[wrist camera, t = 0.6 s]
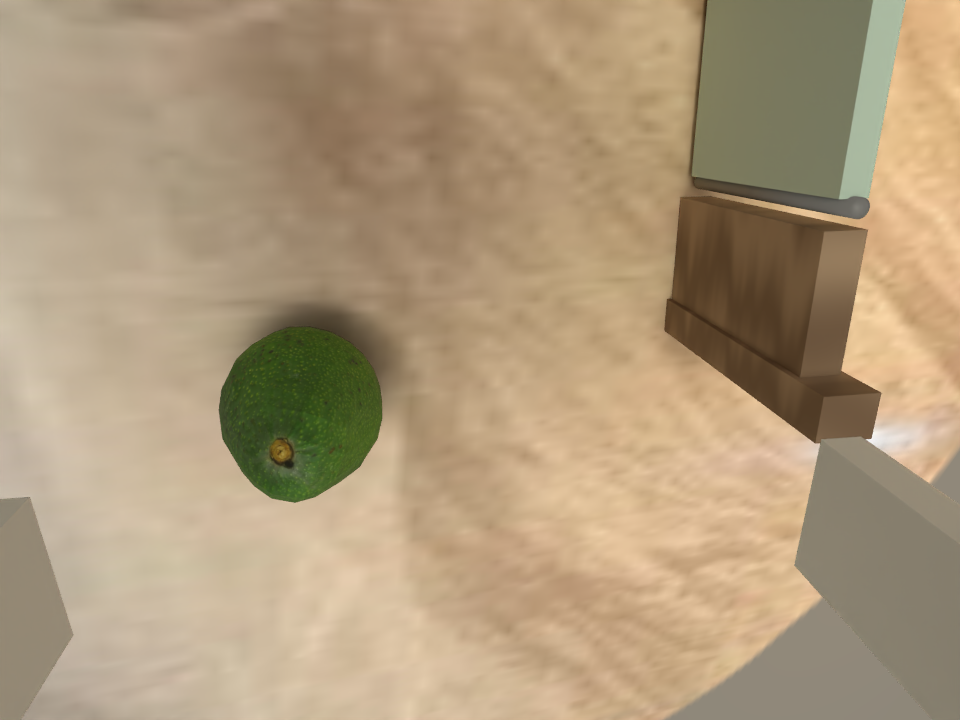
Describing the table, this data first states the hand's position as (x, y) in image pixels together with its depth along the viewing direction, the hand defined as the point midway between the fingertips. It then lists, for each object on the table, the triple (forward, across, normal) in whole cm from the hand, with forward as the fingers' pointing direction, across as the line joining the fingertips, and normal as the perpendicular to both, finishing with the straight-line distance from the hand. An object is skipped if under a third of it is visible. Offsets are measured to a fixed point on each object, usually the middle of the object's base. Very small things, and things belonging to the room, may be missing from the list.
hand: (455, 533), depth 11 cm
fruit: (+26, -6, -7) cm, 28 cm away
